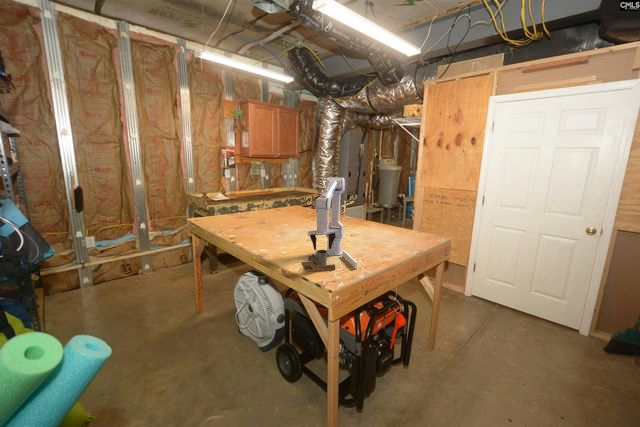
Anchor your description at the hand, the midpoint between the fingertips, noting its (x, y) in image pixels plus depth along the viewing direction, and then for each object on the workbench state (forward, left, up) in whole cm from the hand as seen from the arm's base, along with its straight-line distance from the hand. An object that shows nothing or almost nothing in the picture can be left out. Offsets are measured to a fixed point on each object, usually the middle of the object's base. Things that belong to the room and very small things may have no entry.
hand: (322, 249), depth 139 cm
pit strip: (-5, -7, -10) cm, 13 cm away
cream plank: (-5, +16, -10) cm, 20 cm away
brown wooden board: (-5, +1, -10) cm, 11 cm away
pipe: (-5, 0, -10) cm, 11 cm away
